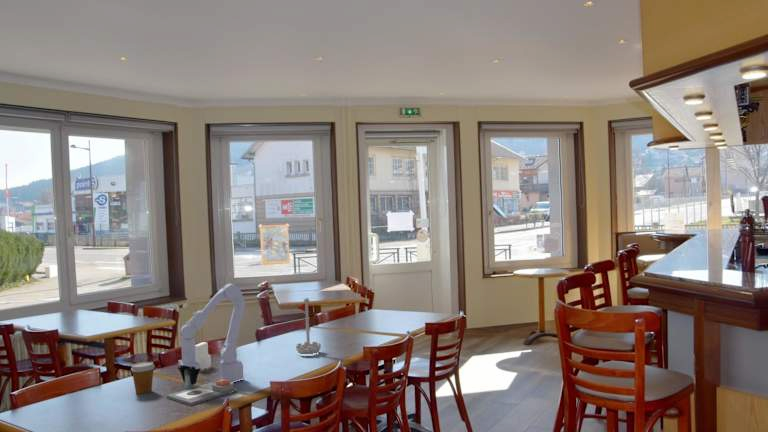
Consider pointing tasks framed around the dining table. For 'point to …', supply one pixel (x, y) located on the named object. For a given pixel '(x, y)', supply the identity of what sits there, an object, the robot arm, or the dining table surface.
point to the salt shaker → (188, 380)
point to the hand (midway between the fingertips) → (189, 382)
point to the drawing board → (201, 393)
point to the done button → (222, 382)
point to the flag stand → (307, 347)
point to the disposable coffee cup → (143, 377)
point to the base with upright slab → (203, 355)
